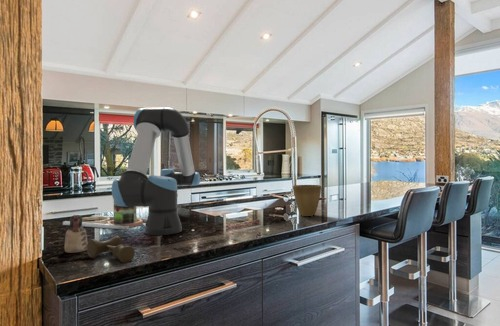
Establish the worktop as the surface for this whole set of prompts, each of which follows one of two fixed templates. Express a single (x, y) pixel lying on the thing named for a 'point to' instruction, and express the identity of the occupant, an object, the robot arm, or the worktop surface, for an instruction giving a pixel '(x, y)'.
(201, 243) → the worktop surface
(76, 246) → the figurine
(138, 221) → the marked ring
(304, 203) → the plant pot
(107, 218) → the flat rectangular tray
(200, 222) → the worktop surface
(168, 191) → the robot arm
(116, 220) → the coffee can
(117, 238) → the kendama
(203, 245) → the worktop surface
